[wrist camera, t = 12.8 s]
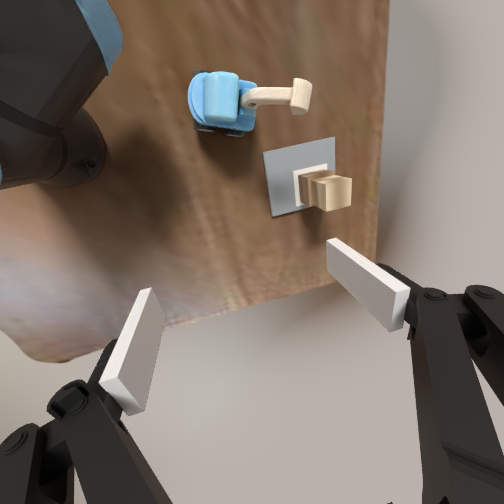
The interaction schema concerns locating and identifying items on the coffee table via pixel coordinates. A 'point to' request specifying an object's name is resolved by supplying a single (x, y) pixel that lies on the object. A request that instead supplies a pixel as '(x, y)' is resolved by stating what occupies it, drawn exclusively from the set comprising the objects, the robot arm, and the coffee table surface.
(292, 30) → the coffee table surface
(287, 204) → the pad
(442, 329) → the robot arm
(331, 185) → the maple block
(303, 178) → the walnut block
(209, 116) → the toy excavator
